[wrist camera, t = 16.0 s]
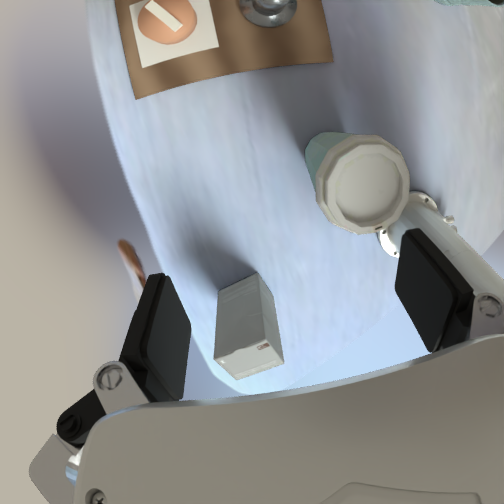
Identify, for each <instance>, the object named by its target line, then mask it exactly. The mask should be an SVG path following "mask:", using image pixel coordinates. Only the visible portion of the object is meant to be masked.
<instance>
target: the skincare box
mask: <svg viewBox="0 0 504 504" xmlns="http://www.w3.org/2000/svg"><path fill="white" fill-rule="evenodd" d="M213 359H214V360H215V361H216V362H217V363H218V364H219V365H220V366H222V367H223V368H224V369H225V370H226V371H227V372H228V373H229V374H230V375H231V376H232V377H233V378H235V379H236V380H239V379H242V378H245V377H248V376H251V375H253V374H256V373H259V372H262V371H265V370H268V369H271V368H273V367H276V366H279V365H282V364H284V358H283V352H282V345H281V339H280V333H279V327H278V321H277V315H276V309H275V304H274V298H273V295H272V293H271V292H270V290H269V289H268V287H267V286H266V284H265V283H264V281H263V280H262V278H261V277H260V275H259V274H258V273H255V274H253V275H251V276H249V277H247V278H245V279H243V280H241V281H239V282H237V283H235V284H232V285H230V286H228V287H226V288H224V289H222V290H220V291H218V301H217V316H216V331H215V348H214V358H213Z"/></svg>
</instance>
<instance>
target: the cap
mask: <svg viewBox="0 0 504 504" xmlns="http://www.w3.org/2000/svg"><path fill="white" fill-rule="evenodd" d="M196 25H197V15H196V12H195V10H194V9H193V7H192V5H191V4H190V2H189V1H188V0H149V1H148V2H147V3H146V4H145V5H144V6H143V7H142V9H141V11H140V13H139V15H138V27H139V30H140V32H141V33H142V34H143V35H144V36H145V37H147V38H149V39H151V40H153V41H156V42H158V43H160V44H166V45H170V44H176V43H179V42H181V41H183V40H185V39H186V38H188V37H189V36H190V35H191V34H192V33H193V31H194V30H195V27H196Z"/></svg>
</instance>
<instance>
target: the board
mask: <svg viewBox="0 0 504 504" xmlns="http://www.w3.org/2000/svg"><path fill="white" fill-rule="evenodd" d="M140 1H143V0H115V5H116V11H117V17H118V22H119V27H120V33H121V38H122V42H123V47H124V52H125V57H126V61H127V66H128V70H129V74H130V78H131V83H132V87H133V91H134V95H135V99H136V100H137V99H140V98H143V97H146V96H149V95H152V94H155V93H158V92H162V91H165V90H168V89H172V88H175V87H179V86H182V85H186V84H190V83H194V82H198V81H202V80H206V79H210V78H215V77H219V76H224V75H229V74H234V73H239V72H245V71H251V70H257V69H264V68H271V67H279V66H288V65H298V64H310V63H327V62H334V61H333V55H332V50H331V44H330V39H329V34H328V29H327V24H326V19H325V15H324V10H323V6H322V2H321V0H297V10H296V13H295V14H294V16H293V17H292V18H291V20H289V21H288V22H287V23H286V24H284V25H282V26H279V27H274V28H264V27H259V26H256V25H254V24H252V23H250V22H249V21H248V20H246V19H245V17H244V16H243V15H242V13H241V11H240V6H239V1H240V0H209V3H210V8H211V12H212V17H213V21H214V26H215V30H216V35H217V40H218V44H219V47H216V48H211V49H207V50H202V51H198V52H194V53H190V54H187V55H183V56H179V57H176V58H172V59H169V60H166V61H163V62H159V63H156V64H153V65H150V66H147V67H144V68H142V65H141V61H140V56H139V52H138V47H137V42H136V38H135V33H134V28H133V23H132V18H131V12H130V7H129V6H130V5H133V4H135V3H138V2H140Z"/></svg>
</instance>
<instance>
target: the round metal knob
mask: <svg viewBox="0 0 504 504" xmlns="http://www.w3.org/2000/svg"><path fill="white" fill-rule="evenodd" d="M239 6H240V11H241V13H242V15H243V16H244V17H245V19H246V20H248V21H249V22H250V23H252V24H254V25H256V26H259V27H264V28H274V27H279V26H282V25H284V24H286V23H287V22H288V21H289V20H291V18H292V17H293V16H294V14H295V13H296V10H297V0H240V1H239Z"/></svg>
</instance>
